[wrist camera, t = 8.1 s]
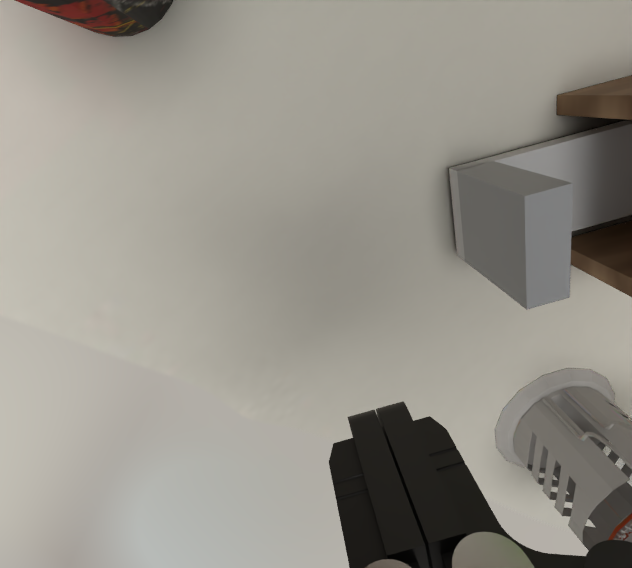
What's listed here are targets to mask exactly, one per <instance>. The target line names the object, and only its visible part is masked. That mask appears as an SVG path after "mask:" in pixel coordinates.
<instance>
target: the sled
mask: <svg viewBox="0 0 632 568" xmlns="http://www.w3.org/2000/svg"><path fill="white" fill-rule="evenodd" d="M449 175H450V185H451V195H452V206H453V216H454V226H455V237H456V247H457V255H458V256H459V257H460V258H461V259H463V260H464V261H465V262H467V263H468V264H469V265H470V266H472V267H473V268H474V269H476V270H477V271H478V272H479V273H481V274H482V275H483V276H485V277H486V278H487V279H488V280H490V281H491V282H492V283H494V284H495V285H496V286H497V287H499V288H500V289H501V290H502V291H504V292H505V293H506V294H508V295H509V296H510V297H511V298H513V299H514V300H515V301H517V302H518V303H519V304H520V305H522V306H523V307H524V308H526V309H530V308H534V307H537V306H541V305H544V304H548V303H552V302H555V301H559V300H562V299H566V298H569V297H570V266H571V233H572V231H576V230H579V229H583V228H587V227H590V226H594V225H597V224H601V223H605V222H608V221H612V220H615V219H619V218H623V217H626V216H630V215H632V120H625V121H621V122H617V123H614V124H610V125H606V126H603V127H599V128H595V129H591V130H588V131H584V132H580V133H577V134H573V135H569V136H566V137H562V138H558V139H555V140H551V141H547V142H543V143H540V144H536V145H532V146H529V147H525V148H521V149H518V150H514V151H510V152H506V153H503V154H499V155H495V156H492V157H488V158H484V159H481V160H477V161H473V162H470V163H466V164H462V165H458V166H455V167H451V168H449Z"/></svg>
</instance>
